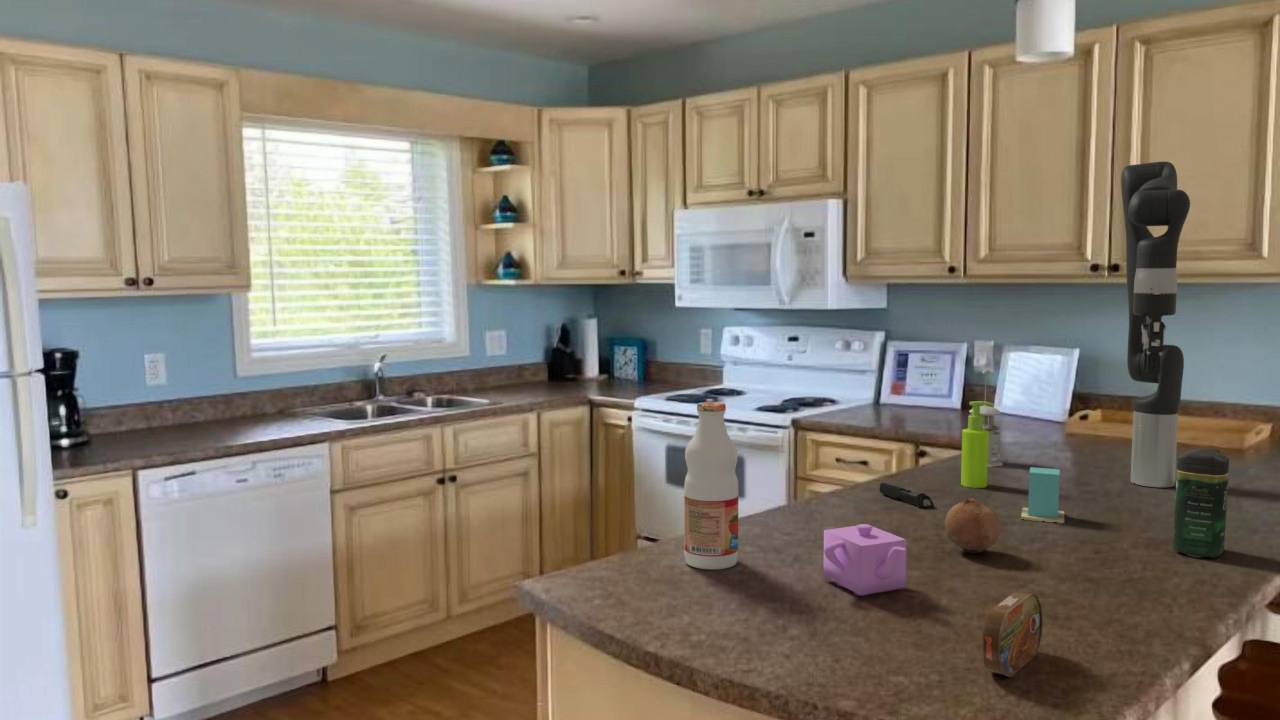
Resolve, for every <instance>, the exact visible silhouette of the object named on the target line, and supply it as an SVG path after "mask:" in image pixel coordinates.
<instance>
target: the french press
mask: <svg viewBox="0 0 1280 720" xmlns="http://www.w3.org/2000/svg"><path fill="white" fill-rule="evenodd" d="M981 372H982V374H983V375H985V378H984V379H985V382H984V384H985V385H984V402H987V401H986V400H987V399H986V398H987V375H990V374H991V371H990V370H989V369H988V368H986V369H983V370H982V371H981ZM968 411H969V414H970V415H971V414H972V408H971V409H970V410H968ZM1001 414H1002V411H1000V410H999V409H997V408H996V407H994V406H989V405H980V415H981V416H983V417H984V418H983V429H984V430H987V431H989V442H988V468H989V467H990V468H994V467H1001V466H1003V465H1004V463H1003V462H1002V460H1001V459H1000V457H1001V455H1000V453H1001V433H1000V432H998V430H999V429H1000V427H999V426H997V425H990V417H993V416H995V417H996V416H1001ZM986 416H987V419H986ZM986 421H987V424H986Z"/></svg>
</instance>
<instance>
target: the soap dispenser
mask: <svg viewBox="0 0 1280 720" xmlns="http://www.w3.org/2000/svg"><path fill="white" fill-rule="evenodd" d="M969 405H970V406H971V407H972V408H971V409H972V414H971V413H970V414H969V415H968V417H967V428H964V429H962V431H961V432H962V433H961V467H960V469H961V470H960V485H961V486H962V485H963V486H962V487H966V488H971V487H972V488H974V489H983V488H986V487H988V474H989V473H988V472H989V471H988V470H989V469H988V468H989V467H988V442H989V431H987V430H984V429H983V424H984V420H983V419H984V416H982V415H980V406H983V405H987V406H990V407H994V406H995V403H993V402H990V401H986V402H985V400H984V401H983V400H980V401H978V400H977V401H969Z"/></svg>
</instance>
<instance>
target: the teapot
mask: <svg viewBox="0 0 1280 720" xmlns="http://www.w3.org/2000/svg"><path fill="white" fill-rule="evenodd" d="M907 544H908V541H907V539H905V538H903V537H901V536H898V535H895V534H894V533H891V532H888V531H885V530H884V529H883V530H882V529H880V528H877V527H875V526H873V525H870V524H868V523H867V524H866V523H861V524H858V525H851V526H845V527H839V528H838V527H837V528H830V529H824V531H823V562H822V563H823V566H822V567H823V568H822V569H823V570H822V571H823V577H824V578H826V579H827V580H830V581H832V582H834V583H835V584H836V586H837V587H843V588H846V589H847V590H849V591H852V592H853V593H854V595H856V596H861V597H863V596H867V595H872V594H877V593H878V594H879V593H883V592H891V591H894V590H896V591H897V590H901V589H906V587H907V583H906V582H907V549H908V548H907V547H908V546H907Z"/></svg>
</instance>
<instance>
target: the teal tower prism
mask: <svg viewBox="0 0 1280 720" xmlns="http://www.w3.org/2000/svg"><path fill="white" fill-rule="evenodd" d="M1060 472H1061V470H1060V469H1058V468H1046V467H1033V466H1032V467H1030V468H1029V475H1028V476H1029V478H1028V505H1027V508H1028V516H1036V517H1046V518H1057V519H1058V511H1059V501H1060V498H1059V497H1060V496H1059V495H1060V476H1061V475H1060Z"/></svg>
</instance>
